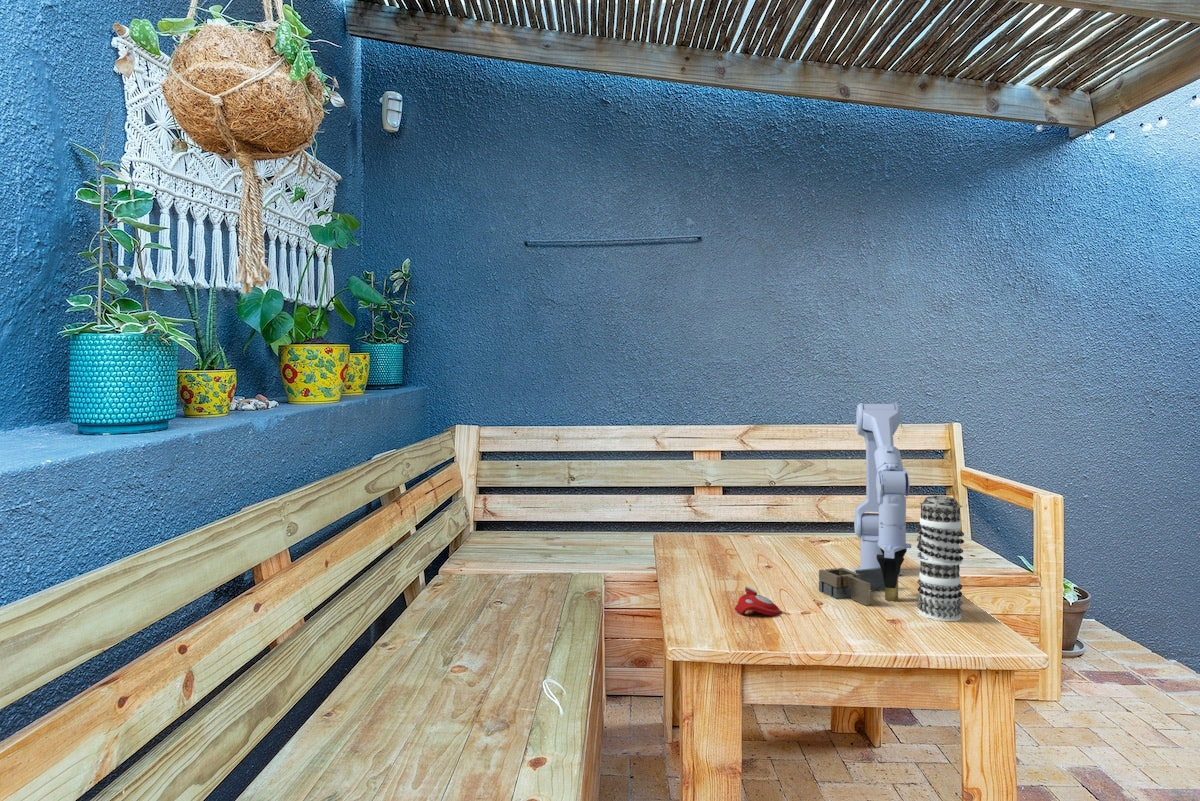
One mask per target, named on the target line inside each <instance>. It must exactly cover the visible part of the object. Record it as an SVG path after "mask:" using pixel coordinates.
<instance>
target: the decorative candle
mask: <svg viewBox="0 0 1200 801" xmlns="http://www.w3.org/2000/svg"><path fill="white" fill-rule="evenodd" d="M919 505H920V517H919V521H917V522H916V525H917V527H916V528H915V530H916V532H917V534H918V535H917V539H916V541H917V542H918V543H917V545H916V548H917V549H918V551H919V552H917V553H918V554H917V559H918V560H919V562H920V566H919V568H920V569H919V570H920V571H919V578H918V581H917V584H918V585H919V586H918V587H917V589H916V590H917V592H918V593H919V594H918V596H917V597H916V599H917V601H918V603H917V605H916V606H917V609H918V610H917V614H918V613H919V614H918V616H920V615H921V616H920V617H922V616H923V617H922V618H924V617H926V618H925V619H927V618H931V619H936V620H943V621H955V622H957V621H956V620H959V621H961V620H962V615H961V614H962V611H963V608H962V607H961V606H962V605H963V600H961V598H962V595H963V592H962V591H961V590H962V589H963V585H962V584H961V583H962V582H961V581H962V580H961V578H962V577H961V575H960V571H961V570H960V569H961V568H960V565H962V564H963V560H964V557H963V556H961V554H963V552H964V550H963V549H962V548H961V547H960V545H962V544H964V543H965V540H964V539H963V538H962V537H963V536H965V532H963V531H962V530H960V529H961V528H962V520H961V508H962V507H963V506H962V505H961V504H960V503H959V502H958V501H957V499H956V498H954V497H950V496H944V495H943V496H941V495H930V496H927V497H925V498H924V499H923V501H922V502H920V503H919ZM960 619H961V620H960Z"/></svg>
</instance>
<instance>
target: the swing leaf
mask: <svg viewBox="0 0 1200 801" xmlns="http://www.w3.org/2000/svg"><path fill="white" fill-rule="evenodd" d="M818 581H822V582H824V583H827V584H829V585H831V586H834V587H836V588H838V587H841V586H842V587H849V588H851V597H850V598H851V599H852V600H853V601H856V602H857V603H860V604H862V605H865V606H871V591H870V583H868V582H865V581H863V580H861V575H860V574H858V573H856V571H853V570H849V569H847V568H845V567H838V568H837V567H836V568H826V569H818Z"/></svg>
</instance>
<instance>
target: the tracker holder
mask: <svg viewBox="0 0 1200 801" xmlns="http://www.w3.org/2000/svg"><path fill="white" fill-rule="evenodd" d="M744 592H745V594H743V595H741V596H740V597H739V599H738V602H737V604H736V605H735V607H734V610H735V611H736V612H737V613H738V614H740V615H743V614H745V612H746V611H755V612H757V613H760V614H763V615H767V616H771V617H775V616H778V615H779V614H780V611H781V610H780V608H779V607H778V605H776V604H775V603H774V602H773V601H772V600H770V599H769V598H767V597H765V596H763V595H761V594H760V595H759V594H758V591H757V590H756V589H753V588H751V587H749V586H747V585H745V588H744Z"/></svg>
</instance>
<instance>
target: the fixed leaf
mask: <svg viewBox="0 0 1200 801" xmlns="http://www.w3.org/2000/svg"><path fill="white" fill-rule="evenodd" d="M855 573H858V574H860V575H861V580H863V581H865V582H868V583H870V590H873V591H878V590H877V589H882V590H885V584H884V580H883V574H882V570H881V567H880V568H870V569H860V570H856V571H855ZM818 591H819V592H820V593H823V594H824V595H827V596H829V597H831V598H832V597H833V599H836V600H839V599H849V598H851V588H849V587H842V586H841V587H838V588H836V587H834V586H831V585H829V584H827V583H824V582H822V581H820V580H818Z"/></svg>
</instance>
